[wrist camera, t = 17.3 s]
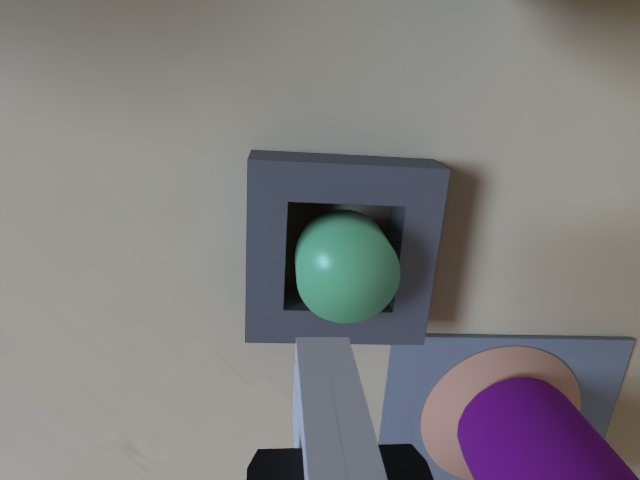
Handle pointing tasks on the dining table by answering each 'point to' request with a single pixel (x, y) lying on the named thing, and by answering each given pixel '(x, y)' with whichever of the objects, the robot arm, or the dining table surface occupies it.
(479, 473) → the beverage can
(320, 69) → the dining table surface
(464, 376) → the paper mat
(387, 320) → the button housing
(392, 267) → the button
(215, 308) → the dining table surface
